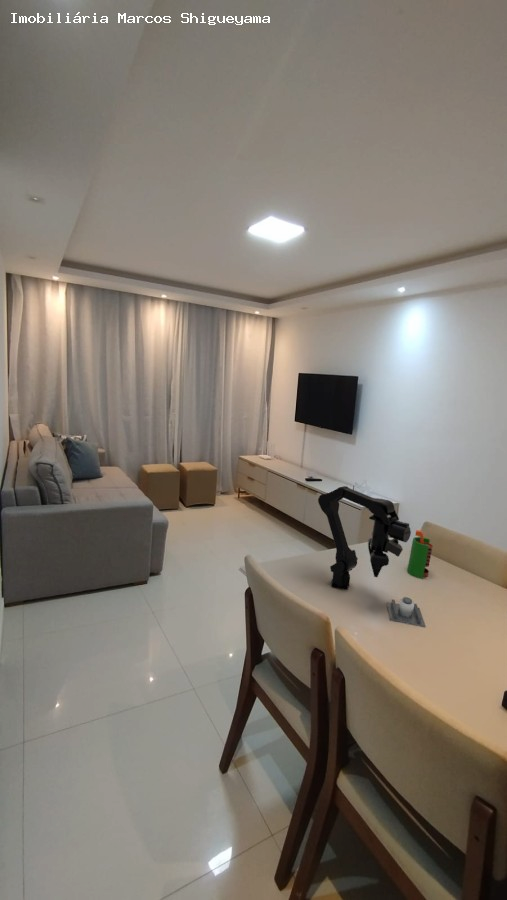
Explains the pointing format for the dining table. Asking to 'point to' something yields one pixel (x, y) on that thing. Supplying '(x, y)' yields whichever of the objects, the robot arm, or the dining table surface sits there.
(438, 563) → the dining table surface
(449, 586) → the dining table surface
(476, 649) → the dining table surface
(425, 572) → the motor
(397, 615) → the cradle
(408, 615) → the grey capped cylinder
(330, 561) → the dining table surface
